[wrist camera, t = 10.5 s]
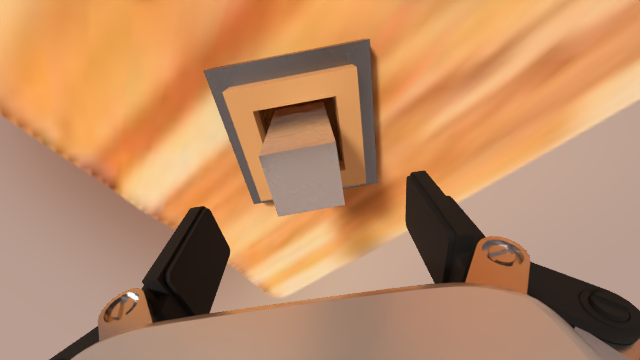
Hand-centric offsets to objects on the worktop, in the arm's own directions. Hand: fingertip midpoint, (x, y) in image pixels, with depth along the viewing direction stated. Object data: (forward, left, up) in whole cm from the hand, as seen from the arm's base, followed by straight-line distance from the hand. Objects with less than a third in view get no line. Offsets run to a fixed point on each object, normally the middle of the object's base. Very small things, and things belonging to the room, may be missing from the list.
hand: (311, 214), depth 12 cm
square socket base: (0, 0, -14) cm, 14 cm away
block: (0, 0, -14) cm, 14 cm away
